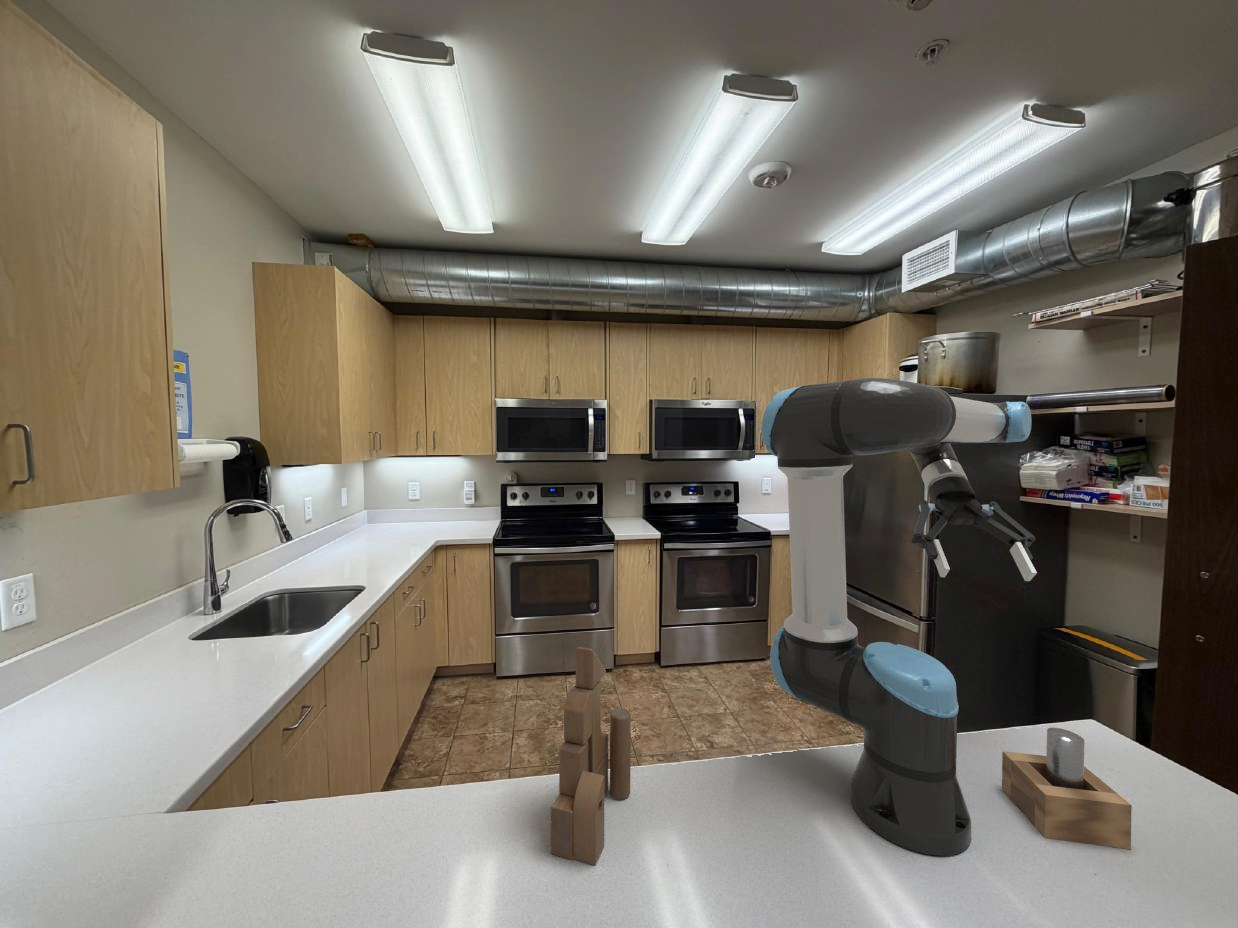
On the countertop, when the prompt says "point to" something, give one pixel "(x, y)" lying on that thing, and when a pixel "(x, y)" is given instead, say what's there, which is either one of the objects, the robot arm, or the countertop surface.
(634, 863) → the countertop surface
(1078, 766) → the silver metal peg
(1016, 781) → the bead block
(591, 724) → the wooden toy
